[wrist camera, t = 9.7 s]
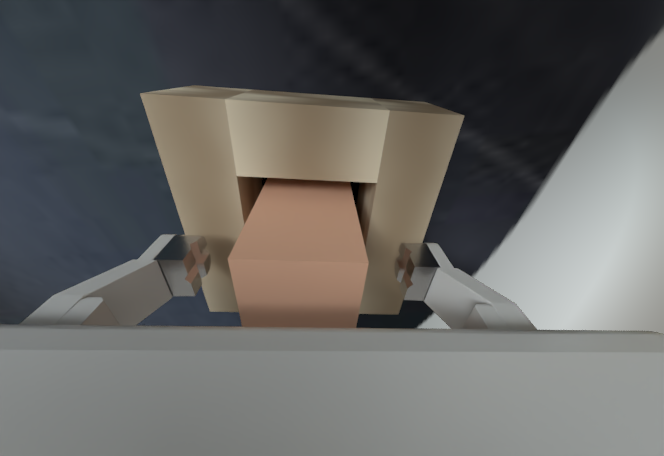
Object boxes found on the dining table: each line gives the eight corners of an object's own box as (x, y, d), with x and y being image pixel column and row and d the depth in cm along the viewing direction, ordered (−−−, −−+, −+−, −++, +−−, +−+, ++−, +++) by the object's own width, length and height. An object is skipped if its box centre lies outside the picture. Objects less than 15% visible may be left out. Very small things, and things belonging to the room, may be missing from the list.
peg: (278, 224, 16) (245, 341, 9) (274, 163, 14) (227, 258, 7) (340, 227, 16) (353, 342, 9) (346, 167, 14) (368, 262, 7)
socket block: (231, 264, 17) (209, 311, 14) (193, 85, 11) (140, 93, 8) (384, 268, 18) (398, 314, 15) (425, 102, 12) (464, 115, 9)
